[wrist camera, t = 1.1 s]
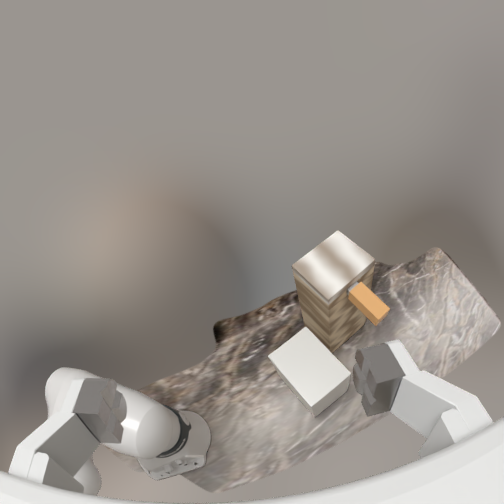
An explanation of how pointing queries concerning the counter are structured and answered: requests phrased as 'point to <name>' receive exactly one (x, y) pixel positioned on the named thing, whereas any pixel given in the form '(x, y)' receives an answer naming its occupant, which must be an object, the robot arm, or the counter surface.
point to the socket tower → (332, 288)
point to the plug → (367, 302)
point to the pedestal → (311, 371)
